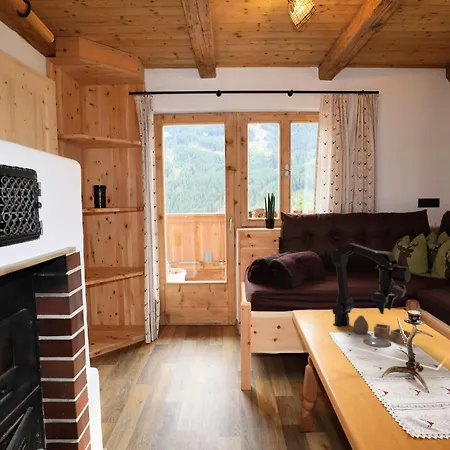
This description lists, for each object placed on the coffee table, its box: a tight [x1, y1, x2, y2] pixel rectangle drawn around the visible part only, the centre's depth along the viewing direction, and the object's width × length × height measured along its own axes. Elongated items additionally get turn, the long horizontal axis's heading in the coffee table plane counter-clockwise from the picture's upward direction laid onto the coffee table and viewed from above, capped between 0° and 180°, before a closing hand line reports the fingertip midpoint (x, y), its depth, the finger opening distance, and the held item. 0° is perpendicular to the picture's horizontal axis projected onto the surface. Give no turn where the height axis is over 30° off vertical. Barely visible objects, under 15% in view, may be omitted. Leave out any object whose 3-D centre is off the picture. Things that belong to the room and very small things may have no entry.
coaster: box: [362, 337, 392, 349], centre depth 173 cm, size 12×12×1 cm
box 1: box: [373, 323, 391, 339], centre depth 182 cm, size 6×6×5 cm
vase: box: [353, 315, 370, 335], centre depth 186 cm, size 7×7×9 cm
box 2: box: [389, 328, 411, 345], centre depth 174 cm, size 6×6×5 cm
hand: (385, 311), depth 180 cm, fingers open, 9 cm apart
